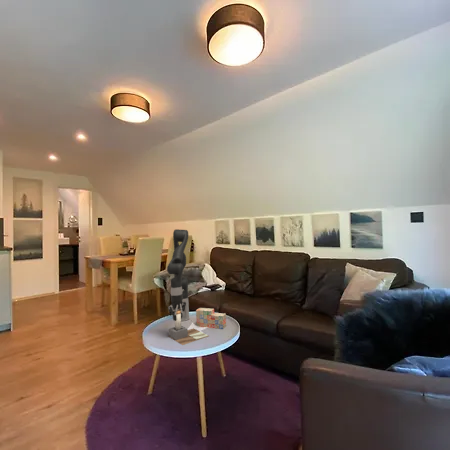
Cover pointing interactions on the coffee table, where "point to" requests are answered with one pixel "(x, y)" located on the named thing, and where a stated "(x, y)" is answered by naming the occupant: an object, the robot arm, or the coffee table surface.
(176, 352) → the coffee table surface
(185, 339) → the base board
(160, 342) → the coffee table surface
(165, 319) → the coffee table surface
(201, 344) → the coffee table surface
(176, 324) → the plug
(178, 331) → the grey square frame
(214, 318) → the stack of blocks
